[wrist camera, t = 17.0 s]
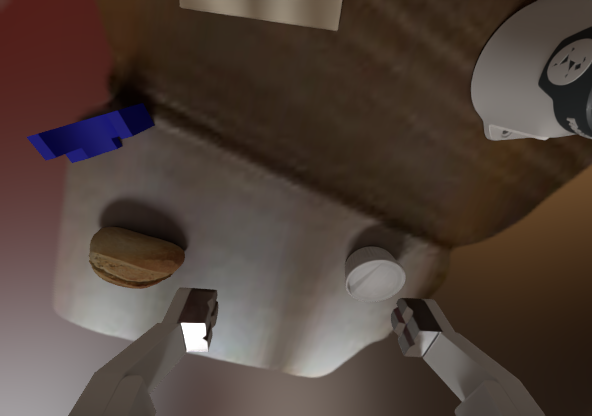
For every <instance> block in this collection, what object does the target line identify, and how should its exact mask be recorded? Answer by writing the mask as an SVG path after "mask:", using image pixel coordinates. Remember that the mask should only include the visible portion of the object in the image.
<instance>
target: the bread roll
mask: <svg viewBox="0 0 592 416" xmlns="http://www.w3.org/2000/svg"><path fill="white" fill-rule="evenodd" d="M89 257H90V260H89V262H90V264H91V265H92V268H93V270H94V272H95V273H96V274H97V275H98V276H99V277H100V278H102V279H103V280H105V281H107V282H109V283H112V284H115V285H118V286H122V287H128V288H139V289H141V288H147V287H150V286H152V285H155V284H157V283H159V282H161V281H162V280H165V279H166V278H168V277H170V276H171V275H172V274H173V273H174V272H175V271H176V270H177V269H178V268H179V267H180V266H181V265H182V264H183V262H184V259H185V253H184V251H183V250H182V249H181V248H180V247H179V246H177V245H175V244H173V243H170V242H167V241H164V240H161V239H158V238H154V237H150V236H147V235H143V234H140V233H137V232H134V231H131V230H127V229H124V228H120V227H104V228H102V229H100V230H99V231H98V232H97V233H96V234H94V236H93V238H92V240H91V243H90V253H89Z"/></svg>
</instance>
